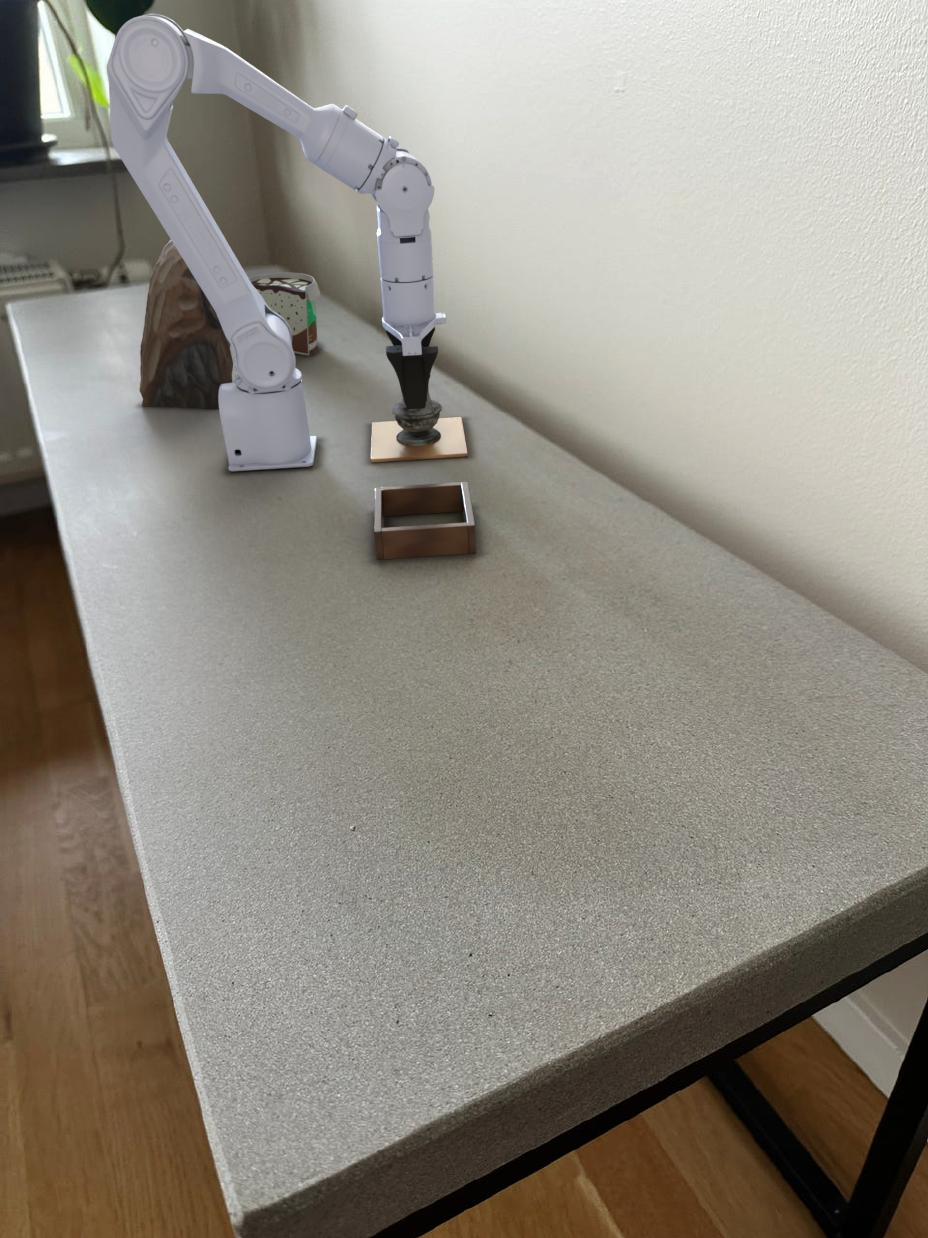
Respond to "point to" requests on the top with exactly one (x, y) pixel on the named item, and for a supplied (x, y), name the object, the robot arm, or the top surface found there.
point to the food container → (292, 305)
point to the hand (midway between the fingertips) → (415, 397)
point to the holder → (424, 536)
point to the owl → (181, 340)
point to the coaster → (392, 450)
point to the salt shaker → (417, 423)
